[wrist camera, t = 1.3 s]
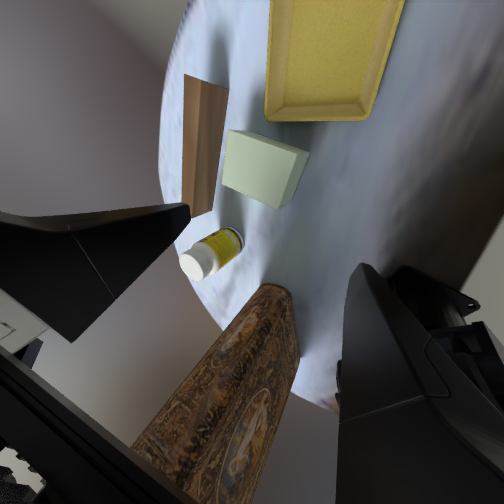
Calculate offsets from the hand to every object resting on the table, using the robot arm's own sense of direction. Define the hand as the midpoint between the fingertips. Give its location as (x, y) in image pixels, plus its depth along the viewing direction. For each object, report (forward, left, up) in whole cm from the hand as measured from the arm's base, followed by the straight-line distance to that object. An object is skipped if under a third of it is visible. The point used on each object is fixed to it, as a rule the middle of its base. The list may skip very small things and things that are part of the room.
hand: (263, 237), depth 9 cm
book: (-5, +22, -13) cm, 26 cm away
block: (+6, 0, -13) cm, 14 cm away
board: (+14, +2, -12) cm, 19 cm away
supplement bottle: (+8, +12, -13) cm, 19 cm away
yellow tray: (+4, -9, -13) cm, 16 cm away
